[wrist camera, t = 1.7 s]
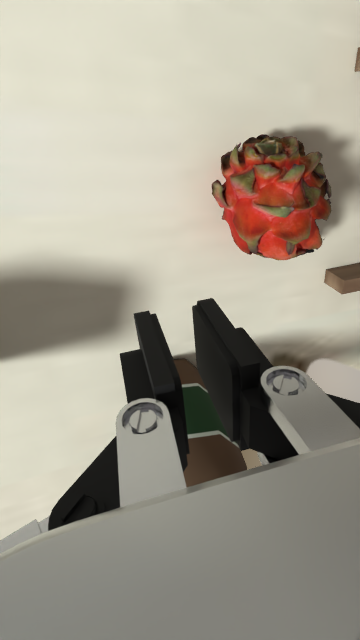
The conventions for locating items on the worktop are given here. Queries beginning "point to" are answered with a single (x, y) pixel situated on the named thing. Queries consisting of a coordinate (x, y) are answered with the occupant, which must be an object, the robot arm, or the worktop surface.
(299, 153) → the dragon fruit
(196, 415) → the beer bottle
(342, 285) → the bay
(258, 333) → the worktop surface
